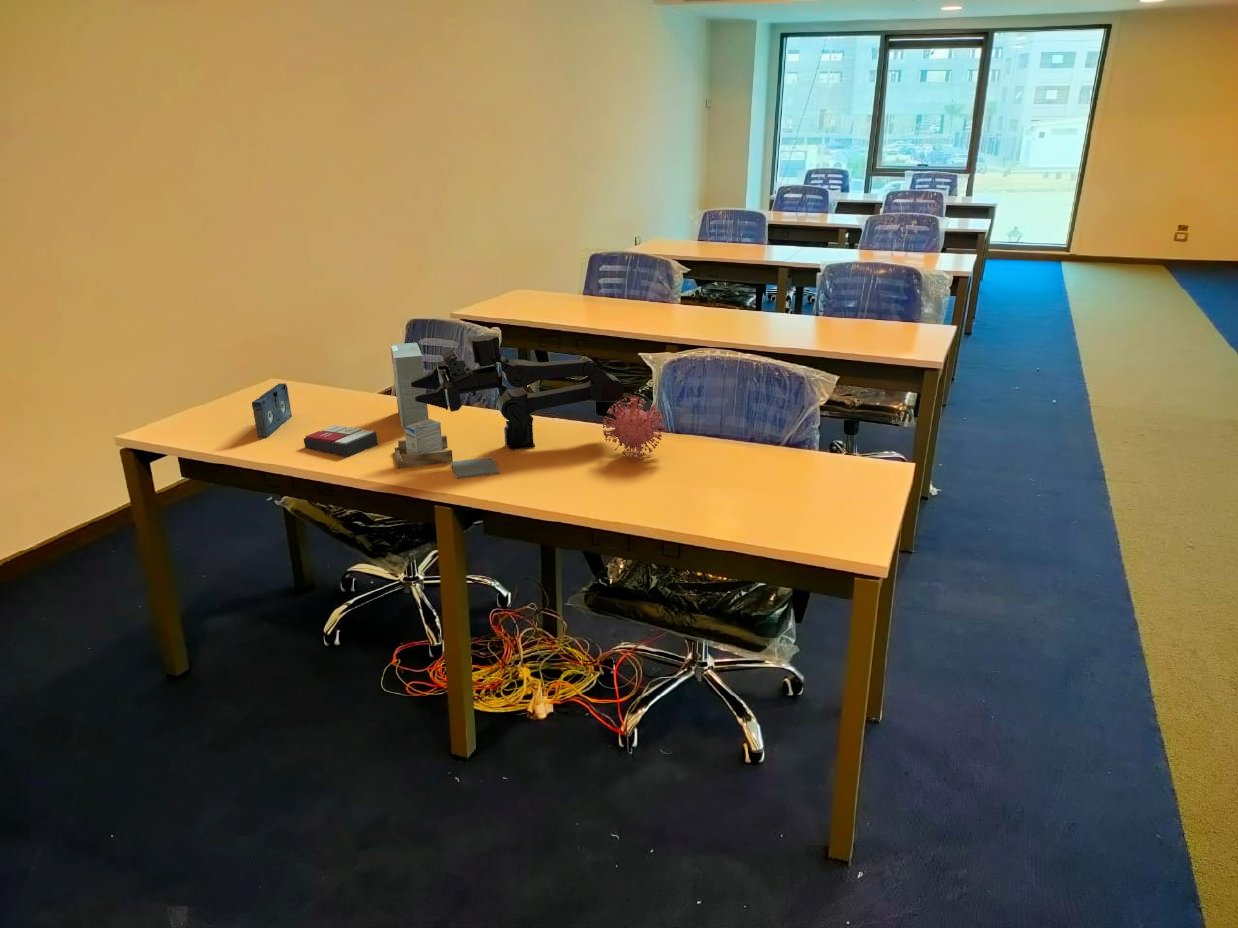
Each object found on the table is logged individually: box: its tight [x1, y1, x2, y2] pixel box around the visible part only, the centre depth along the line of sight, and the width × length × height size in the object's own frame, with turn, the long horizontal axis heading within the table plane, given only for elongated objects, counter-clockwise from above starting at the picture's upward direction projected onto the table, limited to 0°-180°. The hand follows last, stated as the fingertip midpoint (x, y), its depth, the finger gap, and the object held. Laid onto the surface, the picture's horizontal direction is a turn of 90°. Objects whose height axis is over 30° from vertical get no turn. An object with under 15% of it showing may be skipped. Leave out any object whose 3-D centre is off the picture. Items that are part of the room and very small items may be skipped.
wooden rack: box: [394, 434, 454, 469], centre depth 212 cm, size 13×12×3 cm
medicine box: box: [403, 418, 444, 454], centre depth 211 cm, size 8×4×9 cm, turn 141°
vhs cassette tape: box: [251, 383, 293, 439], centre depth 234 cm, size 18×3×10 cm, turn 178°
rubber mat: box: [450, 456, 500, 480], centre depth 205 cm, size 10×10×1 cm
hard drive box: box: [389, 342, 430, 429], centre depth 237 cm, size 16×8×20 cm, turn 17°
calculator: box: [303, 424, 379, 458], centre depth 220 cm, size 11×4×15 cm
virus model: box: [602, 396, 665, 459], centre depth 209 cm, size 15×15×15 cm
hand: (413, 391), depth 207 cm, fingers open, 9 cm apart
